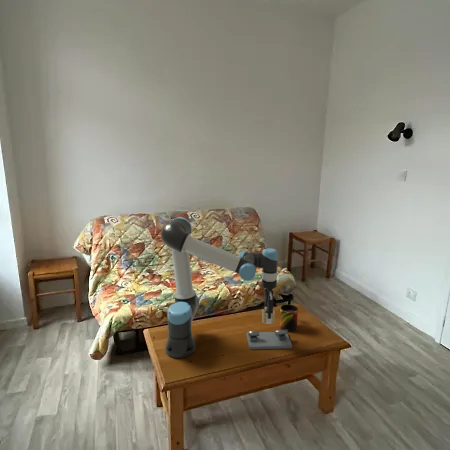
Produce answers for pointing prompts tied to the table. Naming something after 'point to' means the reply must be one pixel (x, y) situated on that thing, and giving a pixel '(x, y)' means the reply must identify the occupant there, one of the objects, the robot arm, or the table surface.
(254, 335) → the shaft left
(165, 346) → the robot arm
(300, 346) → the table surface
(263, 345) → the base plate
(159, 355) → the table surface
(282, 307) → the patterned mug
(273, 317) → the tan rectangular block
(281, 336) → the shaft right
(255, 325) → the table surface
